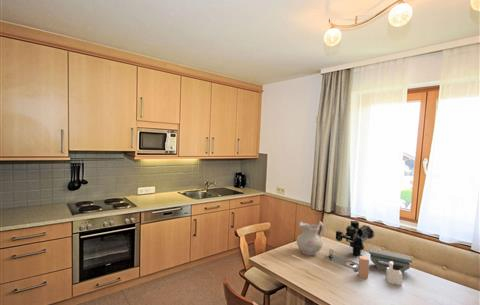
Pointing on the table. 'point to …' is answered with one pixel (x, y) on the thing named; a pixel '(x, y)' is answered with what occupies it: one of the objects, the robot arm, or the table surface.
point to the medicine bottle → (394, 273)
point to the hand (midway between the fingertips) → (344, 242)
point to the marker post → (363, 267)
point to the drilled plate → (344, 262)
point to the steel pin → (330, 252)
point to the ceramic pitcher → (310, 238)
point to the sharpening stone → (389, 259)
